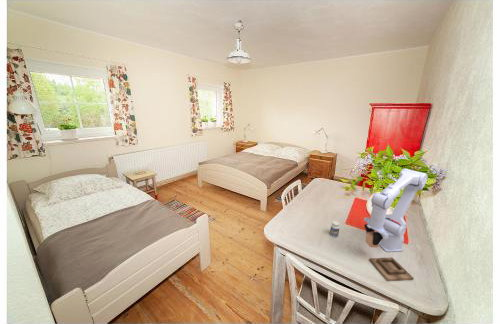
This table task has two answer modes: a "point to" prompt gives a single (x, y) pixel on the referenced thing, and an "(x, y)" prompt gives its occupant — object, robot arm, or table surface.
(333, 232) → the pill bottle
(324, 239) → the table surface
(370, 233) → the terracotta block
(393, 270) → the display stand
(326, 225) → the table surface
